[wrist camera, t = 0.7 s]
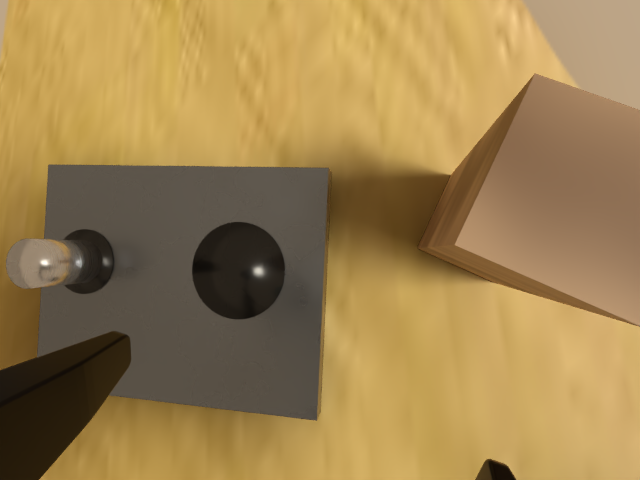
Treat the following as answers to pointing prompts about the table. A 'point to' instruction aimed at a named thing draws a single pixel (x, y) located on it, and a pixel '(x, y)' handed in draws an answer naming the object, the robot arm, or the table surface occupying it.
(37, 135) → the table surface
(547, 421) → the table surface
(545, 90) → the post
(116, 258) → the bolt plate
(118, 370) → the robot arm
